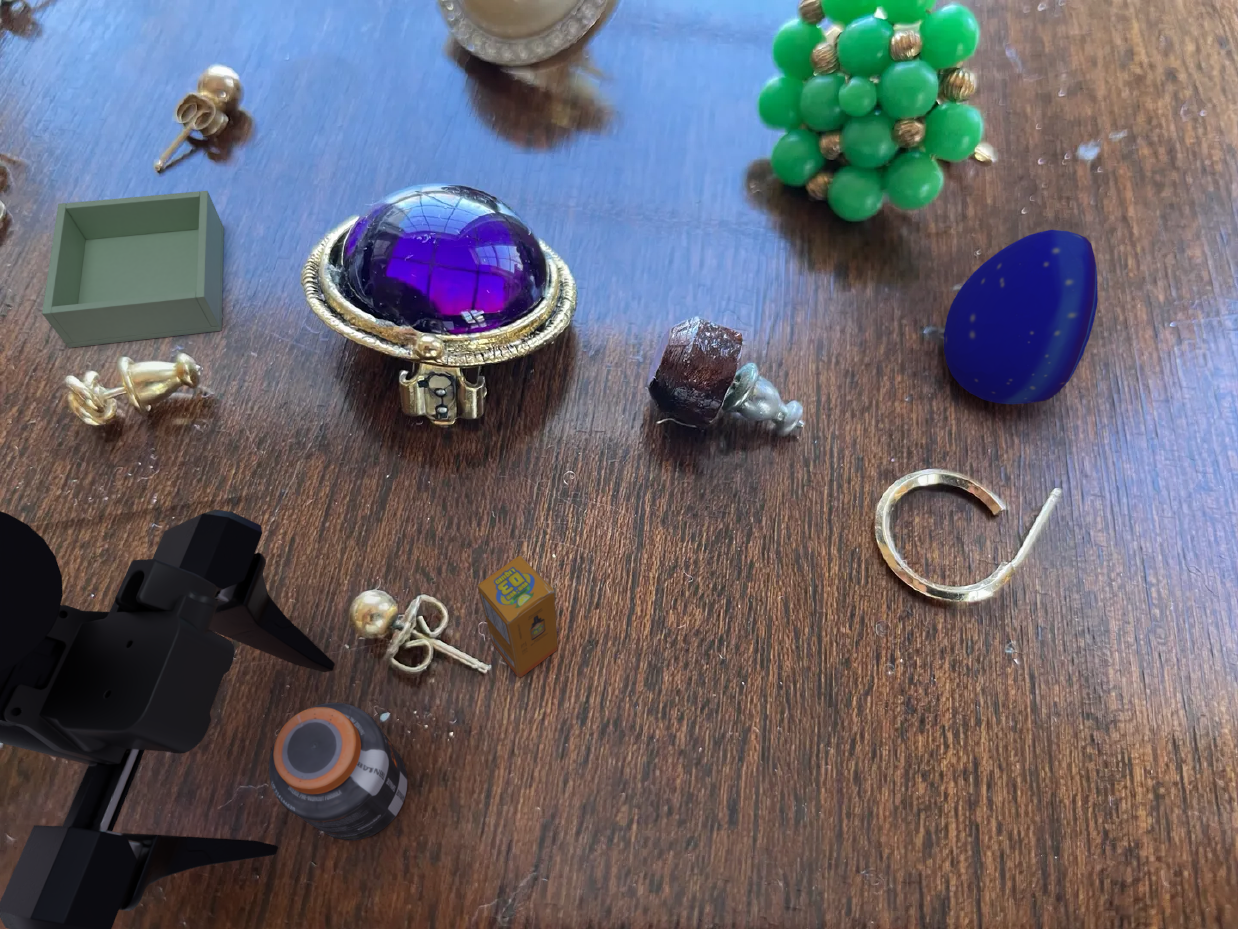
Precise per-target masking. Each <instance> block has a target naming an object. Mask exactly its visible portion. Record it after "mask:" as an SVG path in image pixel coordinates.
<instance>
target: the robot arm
mask: <svg viewBox="0 0 1238 929" xmlns="http://www.w3.org/2000/svg"><path fill="white" fill-rule="evenodd" d="M262 535H263V530H262V525H261V524H259V523H257V522H255V521H252V520H251V519H248V518H246V517H244V516H241V515H239V514H237V513H235V512H233V511H230V510H229V511H228V510H223V509H212V510H208V511H205V512H203V513H200V514H198V515H196V516H194V517H192V518H189V519H188V520H186V521H184V522H181V523H179V524H177V525H175V526H172V527H170V528H169V529H166V530H164V531H163V534H162V536H161V538H160V540H159V543H158V545H157V547H156V550H155V552H154V554H153V557H152V558H146V559H145V558H143V559H133V560H132V561H131V562H130V565H129V566H128V568H127V571H126V573H125V574H124V577H123V580H122V581H121V583H120V586H119V588H118V590H117V593H116V594H115V597H114V601H113V603H112V605H111V608H110V610H109V611H101V610H100V611H99V610H98V611H97V610H82V609H79V608H76V607H73V606H70V605H67V604H62V600H63V595H64V594H63V593H64V592H63V574H62V572H61V569H60V566H59V563H58V560H57V557H56V555H55V553H54V552H53V551H52V549H51V548H50V546H49V545H48V543H47V541H46V540H45V539H44V538H43V537H42V536H41V535H40V534H39V533H38V532H37V531H35V529H33V528H32V527H31V526H30V525H29V524H27V523H26V522H24V521H22V520H20V519H19V518H17V517H14V516H13V515H11V514H9V513H7V512H4V511H1V510H0V744H2V745H3V744H4V745H8V746H11V747H16V748H20V749H23V750H26V751H27V750H28V751H31V752H36V753H40V754H43V755H47V756H51V757H56V758H60V759H64V760H68V761H73V762H75V763H81V764H84V765H87V768H86V770H85V773H84V775H83V777H82V779H81V782H80V784H79V786H78V789H77V791H76V793H75V796H74V797H73V799H72V802H71V805H70V807H69V810H68V812H67V814H66V816H65V818H64V821H63V823H62V825H38V824H34V825H33V827H32V829H31V830H30V833H29V836H28V838H27V840H26V842H25V844H24V847H23V849H22V851H21V854H20V856H19V858H18V860H17V863H16V865H15V867H14V870H13V871H12V874H11V876H10V878H9V881H8V883H7V885H6V887H5V889H4V892H3V894H2V896H1V898H0V920H1V922H2V924H3V926H4V928H5V929H113V926H114V923H115V921H116V918H117V915H118V913H119V910H120V911H127V912H131V911H133V910H134V909H136V907H138V905H139V904H140V902H142V900H143V896H144V893H145V891H146V889H147V888H148V886H150V885H151V884H154V883H155V882H157V881H160V880H162V879H164V878H166V877H169V876H172V875H175V874H178V873H181V872H185V871H189V870H193V869H195V868H201V867H206V866H213V865H219V864H224V863H225V864H226V863H233V862H238V861H245V860H250V859H251V860H252V859H258V858H264V857H272V856H276V855H277V853H278V850H279V846H278V845H275V844H271V843H268V842H264V841H258V840H254V839H253V840H252V839H238V838H237V839H236V838H220V837H219V838H218V837H202V836H184V835H170V834H169V835H167V834H155V833H128V832H123V833H122V832H117V831H114V828H115V826H116V824H117V821H118V818H119V816H120V813H121V811H122V809H123V806H124V803H125V802H126V799H127V796H128V794H129V791H130V788H131V786H132V784H133V781H134V779H135V776H136V775H137V774H136V773H137V771H138V769H139V766H140V763H141V761H142V759H143V756H144V753H145V751H151V752H166V753H171V754H185V753H188V752H191V751H192V750H194V749H195V748H196V747H198V746H199V744H200V743H201V742H202V741H203V739H204V738H205V736H206V734H207V732H208V730H209V727H210V724H211V721H212V716H211V711H212V708H213V705H214V703H215V700H216V697H217V695H218V692H219V690H220V686H221V684H222V681H223V678H224V676H225V675H226V674H227V673H228V672H230V670H231V667H232V665H233V663H234V659H235V654H236V652H235V651H236V650H235V645H234V642H233V641H236V642H238V643H240V644H243V645H246V646H248V647H250V648H253V649H255V650H258V651H260V652H263V653H265V654H267V655H270V656H272V657H275V658H278V659H280V660H282V661H285V662H287V663H290V664H292V665H295V666H298V667H302V668H305V669H309V670H313V671H317V672H320V673H329V672H333V671H334V669H335V665H336V662H334V661H333V660H332V659H331V658H330V657H329V656H328V655H327V654H326V653H325V652H324V651H323V650H322V649H320V648H319V646H317V644H315V643H314V642H313V640H311V639H310V638H309V637H308V636H307V635H306V634H305V633H304V632H303V631H302V630H301V629H300V628H299V627H298V626H296V625H295V624H294V623H293V622H292V620H290V618H288V617H287V615H285V614H284V612H283V611H282V610H281V608H280V607H279V606H278V605H277V604H276V602H275V601H274V600H273V599H272V597H271V596H270V594H269V592H268V589H267V585H266V581H265V577H264V572H265V568H266V565H267V559H266V557H265V556H264V555H263V554H262V553H261V552H256V551H257V549H258V546H259V543H260V541H261V538H262ZM232 640H233V641H232Z"/></svg>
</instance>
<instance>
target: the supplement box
mask: <svg viewBox="0 0 1238 929" xmlns="http://www.w3.org/2000/svg"><path fill="white" fill-rule="evenodd" d="M477 589H478V594H479V598H480V601H481V605H482V609H483V613H484V617H485V621H486V625H487V629H488V632H489V636H490V639H491V642H492V645H493V646H494V647H495V649H496V650H497V653H499V654H500V656H501V657H502V659H503V660H504V661H505V663H506V664H507V665H508V667H509V668H510V669H511V670H512V672H513V673H514V674H515V675H516V676H517V677H518V678H523V677H524V676H525V675H526V674H528V673H529V672H530V671H532V670H533V669H535V668H536V667H537V666H538V665H540V664H541V663H542V662H544V661H545V660H546V659H547V658H549V657H550V656H551V655H552V654H554V653H555V652H556V651H557V650H558V648H559V646H558V631H557V629H558V628H557V615H556V614H557V613H556V598H555V597H556V596H555V595H556V594H555V589H554V588H553V586H551V584H549V583H548V582H547V581H546V579H544V578H543V577H542V576H541V575H540V574H539V573H538V572H537V571H536V570H535V569H534V568H533V566H531V565H530V564H529V563H528V562H527V560H526V559H524V557H523V556H522V555H518V556H516V557H515V558H514V559H512V560H511V561H509V562H508V563H506V564H505V565H503V566H501V568H500V569H498V570H496V571H495V572H494V573H492V574H491V575H489V576H488V577H487V578H485V579H483V580H482V581H480V583H478V584H477Z"/></svg>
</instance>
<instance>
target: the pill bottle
mask: <svg viewBox="0 0 1238 929" xmlns="http://www.w3.org/2000/svg"><path fill="white" fill-rule="evenodd" d="M268 777H269V778H268V779H269V783H270V787H271V788H272V791H273V794H274V795H275V797H276V799H277V800H278V801H279V802H280V804H281V805H282V806H283V807H284V808H285V809H287V810H288V811H289V812H290V813H292V814H294V815H295V816H297V817H298V818H299V819H301V820H303V821H304V822H305V823H308V824H309V825H311V826H312V827H314V828H315V829H317V830H318V831H320V832H322V833H324V834H326V835H327V836H329V837H331V838H333V839H337V840H342V841H361V840H364V839H366V838H369V837H372V836H374V835H376V834H377V833H379V832H381V831H383V830H384V829H385V828H386V827H388V826H389V825H390V824H391V823H392V822H393V821H394V820H395V819H396V817H397V815H398V814H399V812H400V810H401V809H402V807H403V805H404V802H405V800H406V795H407V791H408V773H407V768H406V764H405V762H404V761H403V758H402V756H401V755H400V753H399V752H398V751H397V749H396V748H395V747H394V745H393V743H392V742H391V741H390V740H389V738H388V736H386V734H385V733H384V731H383V729H381V727H380V726H379V724H378V723H377V721H376V720H375V719H374V718H373V717H372V716H371V715H370V714H369V713H368V712H366V711H364V710H363V709H362V708H360V707H357V706H355V705H352V704H349V703H344V702H324V703H321V704H316V705H313V706H310V707H308V708H306V709H304V710H302V711H300V712H298V713H296V714H295V715H293V716H292V717H291V718H290V719H289V720H288V721H287V722H285V724H284V725H283V726H282V728H281V729H280V730H279V732H278V734H277V736H276V738H275V741H274V743H273V745H272V747H271V751H270V755H269V761H268Z"/></svg>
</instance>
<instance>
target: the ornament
mask: <svg viewBox="0 0 1238 929" xmlns="http://www.w3.org/2000/svg"><path fill="white" fill-rule="evenodd" d="M1095 256H1096V255H1095V253H1094V248H1093V245H1092V243H1091V242H1090V241H1089V239H1088V238H1087V237H1085V236H1083V235H1081V234H1078V233H1075V232H1072V231H1069V230H1062V229H1061V230H1060V229H1048V230H1044V231H1038V232H1035V233H1032V234H1028V235H1026V236H1024V237H1022V238H1020V239H1017V240H1016V241H1014V242H1012V243H1011V244H1008V245H1006V246H1005V247H1004V248H1002V249H1001V250H999V251H998V252H996V253H995V254H994V255H993V256H991V257H990V258H988V259H987V260H986V261H984V262H982V264H981V265H979V267H978V268H977V269H976V270H975V271H973V272H972V273H971V275H970V276H969V277H968V279H967V280H966V281H965V282H964V283H963V284H962V285H961V287H960V289H959V291H958V292H957V293H956V295H955V297H954V299H953V301H952V302H951V304H950V307H949V309H948V313H947V316H946V320H945V325H944V331H943V353H944V358H945V362H946V366H947V368H948V370H949V372H950V374H951V376H952V377H953V378H954V380H955V381H956V383H957V384H958V385H959V386H960V387H961V388H963V389H964V390H965V391H966V392H968V393H969V394H971V395H973V396H975V397H977V398H979V399H981V400H984V401H987V402H991V403H996V404H1003V405H1022V404H1026V405H1027V404H1033V403H1041V402H1046V401H1048V400H1050V399H1051V398H1053V397H1054V396H1056V395H1057V394H1058V393H1059V392H1061V390H1062V389H1063V388H1064V387H1065V386H1066V384H1068V382H1070V380H1071V378H1072V377H1073V375H1074V374H1075V372H1076V370H1077V368H1078V366H1079V364H1080V362H1081V360H1082V358H1083V356H1084V354H1085V351H1086V348H1087V344H1088V342H1089V340H1090V337H1091V333H1092V329H1093V326H1094V322H1095V318H1096V313H1097V308H1098V301H1099V296H1098V293H1099V292H1098V291H1099V290H1098V269H1097V262H1096V257H1095Z"/></svg>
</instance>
